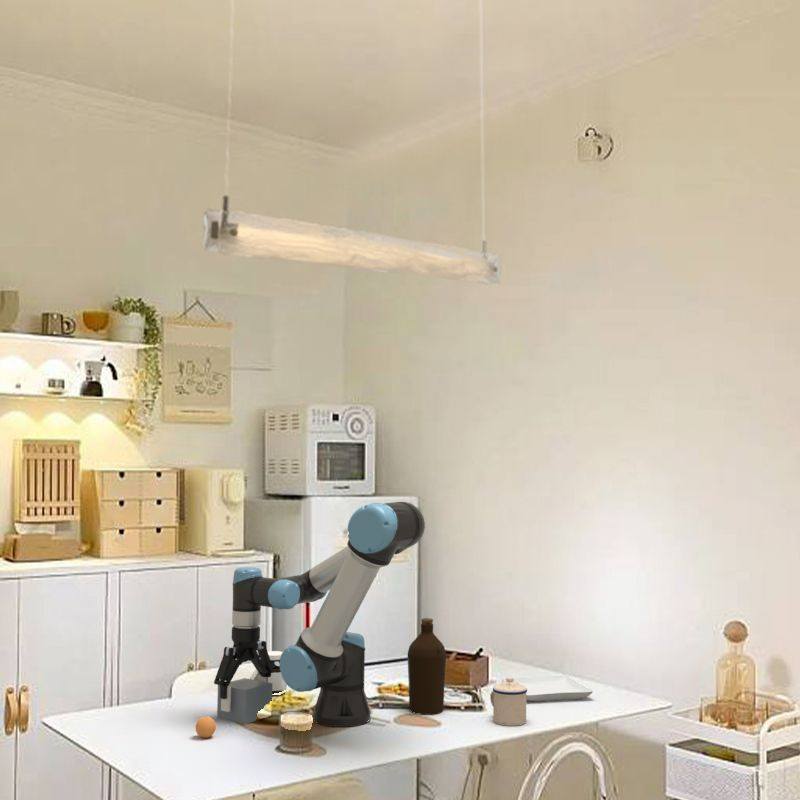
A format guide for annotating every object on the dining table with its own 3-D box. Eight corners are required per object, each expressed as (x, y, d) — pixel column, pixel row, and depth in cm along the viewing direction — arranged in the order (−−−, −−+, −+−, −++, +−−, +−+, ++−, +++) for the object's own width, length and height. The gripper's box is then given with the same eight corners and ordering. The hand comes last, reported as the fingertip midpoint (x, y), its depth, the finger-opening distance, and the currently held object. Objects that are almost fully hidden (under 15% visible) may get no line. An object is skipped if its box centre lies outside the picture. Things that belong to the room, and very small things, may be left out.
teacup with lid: (534, 723, 281) (534, 678, 281) (508, 728, 276) (508, 682, 276) (503, 713, 291) (504, 670, 291) (478, 718, 285) (478, 674, 286)
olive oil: (450, 708, 296) (451, 617, 297) (438, 717, 286) (438, 623, 287) (415, 704, 300) (415, 615, 301) (401, 713, 290) (402, 620, 291)
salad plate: (525, 706, 301) (525, 693, 302) (500, 689, 322) (500, 677, 322) (594, 702, 306) (594, 690, 306) (566, 686, 327) (566, 674, 327)
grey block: (271, 716, 285) (272, 683, 286) (245, 724, 277) (245, 690, 277) (244, 710, 291) (244, 678, 292) (217, 718, 283) (217, 684, 283)
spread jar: (284, 697, 307) (284, 656, 307) (245, 697, 307) (245, 656, 308) (289, 688, 319) (289, 648, 319) (251, 687, 319) (251, 648, 320)
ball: (220, 736, 265) (220, 716, 265) (205, 741, 261) (205, 720, 261) (205, 733, 268) (206, 713, 268) (191, 737, 264) (191, 717, 264)
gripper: (267, 618, 297) (265, 695, 297) (201, 630, 277) (199, 712, 276) (287, 621, 293) (285, 699, 292) (222, 634, 273) (220, 717, 272)
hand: (243, 706), depth 284 cm, fingers open, 13 cm apart
